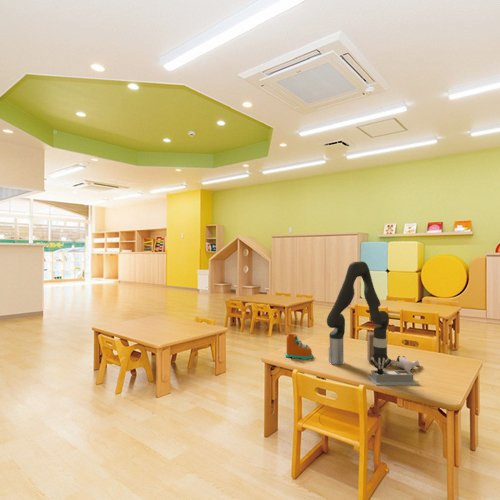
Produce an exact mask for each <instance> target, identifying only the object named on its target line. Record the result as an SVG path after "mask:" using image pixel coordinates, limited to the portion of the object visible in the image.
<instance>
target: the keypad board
mask: <svg viewBox="0 0 500 500" xmlns="http://www.w3.org/2000/svg"><path fill="white" fill-rule="evenodd" d="M386 371H395V372H396V373H397V374H395V375H389V374H388V373H387V372H386ZM370 372H371V374H368V375H366V376H367V378H368V379H369V380H370V381H371V382H372V383H373V384H374V385H375V386H376V387H379V386H380V387H381V386H384V387H385V386H386V387H387V386H419V382H417V381H415V380H414V374H413V373H412V372H411V371H410V372H409V371H408V370H404V369H392V370H391V369H385V370H384V369H383V374H384V375H377V374H376V373H377V369H375V370H374V369H372V370H370ZM400 373H407V374H400Z"/></svg>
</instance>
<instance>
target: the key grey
mask: <svg viewBox="0 0 500 500" xmlns="http://www.w3.org/2000/svg"><path fill="white" fill-rule="evenodd" d="M386 372H387V373H388V374H389V375H395V374H397V373H396V372H395V371H386Z"/></svg>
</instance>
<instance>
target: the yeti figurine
mask: <svg viewBox="0 0 500 500" xmlns="http://www.w3.org/2000/svg"><path fill="white" fill-rule="evenodd" d="M396 357H397V358H396V360H395V359H391V362H390V364H389V365H391V366H392V365H395V366H397V367H398V368H399V369H401V370H408V371H409V372H410V373H411V371H412V370H411V369H413V368H414V367H419V366H420V362H419V361H418V360H413V361H410V360H409V359H407V358H406V356H405V355H403V356H402V357H401V356H400V355H398V356H396Z"/></svg>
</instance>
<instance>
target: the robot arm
mask: <svg viewBox="0 0 500 500" xmlns="http://www.w3.org/2000/svg"><path fill="white" fill-rule="evenodd" d="M358 277H360V278H361V279H362V281H363V286H364V287H363V295H364V298H365V301H366V304H367V306H368V312H369V316H370V319H371V321H372V322H373V323H374V324H376V326H375V327H374V328H373V332H374V340H373V357H372V358H371V359H369V360H370V362H371V363H372V364H371V365H372V366H373V367H374V368H375V369H376V370H377V373H378V374H379V375H382V374H383V370H384V369H387V367H388V366H389V365H391V364H390V362H391V360H392V359H391V358H389V357H388V356H389V355H388V340H387V337H388V336H387V330H388V328H389V327H388V326H389V322H390V316H389V314H388V312H386V311H385V310H379V307H380V306H381V302H380V299H379V296H378V295H377V292H376V290H375V286H374V282H373V278H372V275H371V271H370V268H369V265H368V264H367V263H366V262H365V261H361V260H360V261H352V262H351V263H350V264H349V265H348V268H347V271H346V274H345V278H344V281H343V283H342V285H341V287H340V290H339V293H338V295H337V298H336V300H335V302H334V304H333V307H332V308H331V310H330V312H329V313H328V315H327V317H326V325H327V326H328V328H331V329H333V330H332V331H330V333H329V347H328V362H329V364H330V363H331V364H330V365H337V366H340V365H344V335H345V331H346V318H345V316H344V315H343V314H342V312H343V311H344V310H346V309H347V308H348V307H349V306H350V305H351V303H352V301H353V299H354V297H355V288H354V286H355V282H356V280H357V278H358ZM374 360H375V361H376V364H377V365H376V364H375V363H374ZM384 362H385V363H384Z"/></svg>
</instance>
